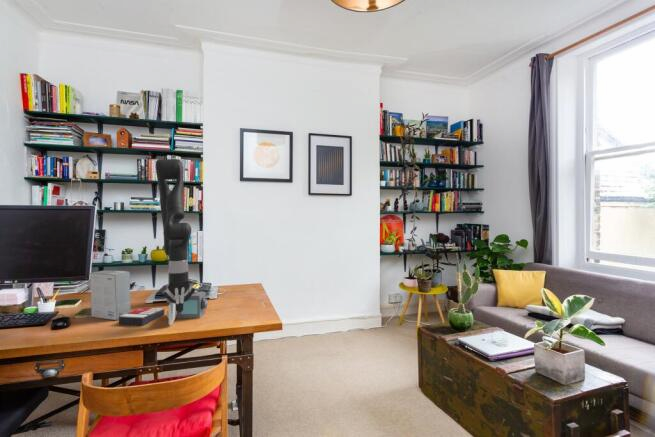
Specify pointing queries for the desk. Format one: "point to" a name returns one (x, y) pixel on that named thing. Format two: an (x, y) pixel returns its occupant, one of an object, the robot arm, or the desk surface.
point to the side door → (171, 312)
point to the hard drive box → (110, 294)
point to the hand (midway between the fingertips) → (179, 311)
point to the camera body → (193, 306)
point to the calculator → (141, 316)
